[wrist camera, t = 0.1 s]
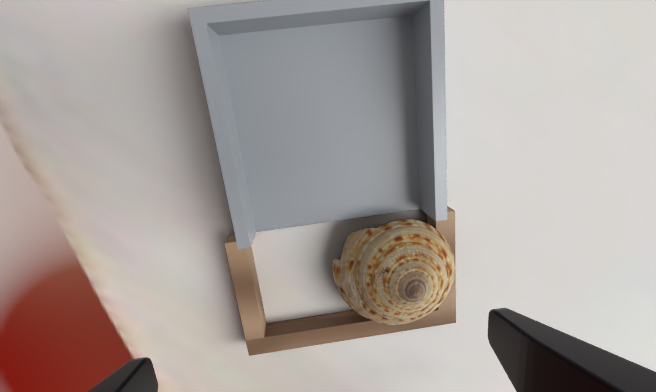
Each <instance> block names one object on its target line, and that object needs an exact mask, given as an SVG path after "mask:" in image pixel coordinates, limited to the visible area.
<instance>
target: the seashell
mask: <svg viewBox="0 0 656 392" xmlns="http://www.w3.org/2000/svg"><path fill="white" fill-rule="evenodd" d="M333 276H334V279H335V283H336V287H337V288H338V290H339V292H340V293H341V295H342V297H343V299H344V300H345V301H346V302H347V304H348V305H349V306H350V307H351V308H352V309H353V310H355V311H356V312H357V313H359V314H360V315H362V316H363V317H365V318H367V319H370V320H372V321H375V322H379V323H382V324H387V325H397V324H406V323H410V322H413V321H416V320H418V319H421V318H423V317H425V316H426V315H428V314H430V313H431V312H433V311H434V310H435V309H436V308H437V307H438V306H440V305H441V303H442V302H443V301H444V300H445V298H446V297H447V296H448V294H449V292H450V290H451V287H452V285H453V282H454V278H455V260H454V255H453V252H452V250H451V247H450V245H449V244H448V242H447V240H446V239H445V238H444V237H443V235H442V234H441V233H440V232H439V231H438V230H436V229H435V228H433V227H432V226H431V225H429V224H427V223H425V222H422V221H419V220H414V219H402V220H398V221H392V222H389V223H386V224H384V225H382V226H380V227H378V228H369V229H366V228H363V229H361V230H359V231H355V232H352V233H351V234H350V235H349V236H348V237H347V239H346V242H345V243H344V247H343V251H342V255H341V258H336V259H334V260H333Z"/></svg>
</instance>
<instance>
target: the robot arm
mask: <svg viewBox="0 0 656 392" xmlns="http://www.w3.org/2000/svg"><path fill="white" fill-rule="evenodd" d="M488 339H489V343H490V345H491V347H492V349H493V350H494V352H495V354H496V356H497V358H498V359H499V361H500V363H501V365H502V366H503V368H504V370H505V372H506V374H507V375H508V377H509V379H510V381H511V382H512V384H513V386H514V388H515V390H516V391H517V392H656V372H655V371H652V370H650V369H647V368H645V367H643V366H640V365H638V364H636V363H633V362H631V361H629V360H626V359H624V358H622V357H619V356H617V355H615V354H612V353H610V352H608V351H605V350H603V349H601V348H598V347H596V346H594V345H591V344H589V343H587V342H584V341H582V340H580V339H577V338H575V337H573V336H570V335H568V334H566V333H563V332H561V331H559V330H556V329H554V328H552V327H549V326H547V325H545V324H542V323H540V322H538V321H535V320H533V319H531V318H528V317H526V316H524V315H521V314H519V313H517V312H514V311H512V310H510V309H507V308H500V309H493V310H491V311H490V312H489V320H488ZM157 391H158V382H157V378H156V375H155V371H154V368H153V364H152V361H151V360H150V358H147V357H145V358H137V359H132V360H130V361H129V362H127V363H126V364H125V365H123V366H122V367H121V368H119V369H118V370H116V371H115V372H114V373H112V374H111V375H110V376H108V377H107V378H106V379H104V380H103V381H102V382H100V383H99V384H98V385H96V386H95V387H93V388H92V389H91V390H89V391H88V392H157Z"/></svg>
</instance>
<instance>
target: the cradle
mask: <svg viewBox="0 0 656 392" xmlns="http://www.w3.org/2000/svg"><path fill="white" fill-rule="evenodd" d="M427 219H428V224H429V225H431V226H432V227H433V228H435V229H436V230H438V231H439V232H440V233H441V234H442V235H443V237H444V238H445V239H446V240H447V242H448V244H449V245H450V247H451V250H452V252H453V255H454V260H455V211H454V210H453V209H451V208H449V207H448V206H447V220H441V221H435V220H434V219H432V218H431V217H430V216H429V215H427ZM224 244H225V249H226V253H227V258H228V262H229V267H230V271H231V276H232V280H233V285H234V289H235V294H236V299H237V303H238V308H239V312H240V317H241V321H242V326H243V330H244V335H245V339H246V344H247V348H248V353H249V356H250V355H256V354H263V353H269V352H275V351H281V350H288V349H294V348H300V347H306V346H313V345H319V344H325V343H331V342H337V341H344V340H350V339H356V338H362V337H369V336H375V335H381V334H387V333H394V332H400V331H406V330H412V329H419V328H425V327H431V326H437V325H444V324H450V323H456V288H455V278H454V282H453V285H452V287H451V290H450V292H449V294H448V296H447V297H446V298H445V300H444V301H443V302H442V303H441V305H440V306H438V307H437V308H436V309H435V310H434V311H433V312H431V313H430V314H428V315H426V316H425V317H423V318H421V319H418V320H416V321H413V322H410V323H406V324H397V325H387V324H382V323H379V322H375V321H372V320H370V319H367V318H365V317H363V316H362V315H360V314H359V313H357V312H356V311H355V310H352V311H346V312H339V313H333V314H327V315H320V316H314V317H307V318H301V319H294V320H288V321H281V322H275V323H269V324H266V319H265V314H264V309H263V304H262V299H261V294H260V289H259V283H258V278H257V273H256V268H255V263H254V258H253V253H252V248H251V247H250V248H244V249H238V247H237V242H236V238H235V234H230V235H229V236H228V238H227V240H226V241H225V243H224Z"/></svg>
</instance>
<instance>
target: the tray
mask: <svg viewBox="0 0 656 392" xmlns="http://www.w3.org/2000/svg"><path fill="white" fill-rule="evenodd" d="M188 13H189V18H190V23H191V27H192V32H193V37H194V42H195V47H196V51H197V56H198V61H199V66H200V70H201V75H202V80H203V85H204V90H205V94H206V99H207V104H208V109H209V113H210V118H211V123H212V128H213V133H214V137H215V142H216V147H217V152H218V156H219V161H220V166H221V171H222V176H223V180H224V185H225V190H226V195H227V199H228V204H229V209H230V214H231V219H232V223H233V228H234V233H235V238H236V242H237V247H238V249H244V248H250V247H251V244H252V242H253V239H254V236H255V234H256V232H259V231H266V230H273V229H280V228H287V227H295V226H302V225H309V224H316V223H323V222H330V221H338V220H345V219H352V218H359V217H366V216H373V215H381V214H388V213H395V212H402V211H409V210H416V209H421V210H422V211H424V212H425V213H426V214H427V215H429V216H430V217H431V218H432V219H434V220H435V221H441V220H447V161H446V97H445V33H444V0H265V1H255V2H245V3H236V4H226V5H216V6H206V7H196V8H188Z"/></svg>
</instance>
